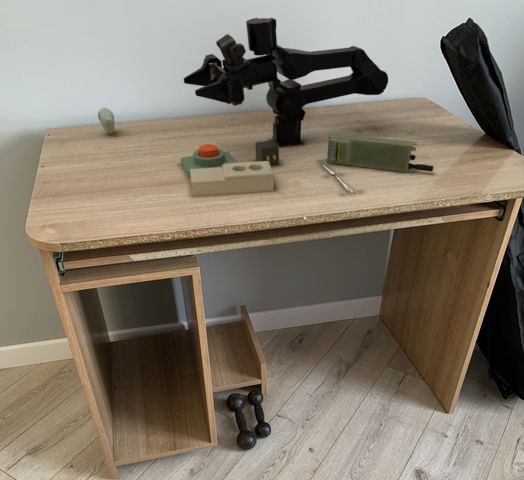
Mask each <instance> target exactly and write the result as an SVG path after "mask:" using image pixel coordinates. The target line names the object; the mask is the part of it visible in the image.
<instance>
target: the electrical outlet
mask: <svg viewBox="0 0 524 480" xmlns="http://www.w3.org/2000/svg"><path fill="white" fill-rule="evenodd" d="M190 176H191V179H190V185H191V195H192V197H199V196H200V197H201V196H212V195H215V196H216V195H229V194H244V193H256V192H259V193H260V192H272V191H273V192H274V190H275V189H274V188H275V178H274V177H275V173H274V171H273V168H272V166H271V165H270V163H269V161H258V162H257V161H244V162H237V163H226V164H223V165H222V167H217V168H201V169H190Z"/></svg>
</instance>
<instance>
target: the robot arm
mask: <svg viewBox="0 0 524 480" xmlns="http://www.w3.org/2000/svg"><path fill="white" fill-rule="evenodd" d="M245 24H246V25H245V26H246V35H247V45H248V51H250V52H253V55H254V56H255V57H252V58H248V59H247V58H245V57H244V55H245V54H246V52H247V50H246V47H245V45H244V44H242V43H239V42H238V43H237V41H236V40H235V38H234V37H233V36H231V35H230V34H229V33H227V34H224V35H223V36H222V37H221V38H218V40H217V41H215V45H216V46H217V48H219V50H220V53H221V55H222V57H223V59H222V60H221V59H220V58H219V57H218V56H216V54H215V55H214V54H213V53H210V54H206V55H205V56H204V58H203V63H202V65H201V67H199V68H198V69H197V70H195V71H193V72H192V73H190V74H188V75H186V76H185V77H183V83H184V84H187V85H192V86H201V87H199V88H197V89H195V90H194V94H195V96H196V97H200V98H205V99H208V100H212V101H216V102H221V103H225V104H227V105H232V106H233V107H236V106H239V105H243V103H244V101H245V90H244V89H247V90H248V91H251V90H254V89H253V87H255V86H258V85H263V84H267V83H268V87H269V88H268V90H267V93H266V96H265V97H266V98H265V99H266V103H267V105H268V106H269V108H271V110H272V113H273V114H274V115H275V116H274V122H273V123H272V139H271V140H273V141H274V142H275V143H276V144H277V145H278V146H279V147H286V146H295V145H301V144H304V140H303V139H302V138H301V135H302V121H304V120H305V119H304V118H305V115H306V111H305V110H304V107H305V106H306V105H309V104H314V103H318V102H323V101H326V100H327V101H328V100H331V99H336V98H342V97H345V96H346V97H347V96H351V95H363V96H379V95H381V94H383V93H384V92H385V90H386V89H387V87H388V84H389V75H388V73H387V72H386V71H384V70H383V69H380V67H379V66H378V65H377V64H376V63H375V62H374V61H373V60H372V59H371V58H370V57H369V55H368V54H367V52H366V51H365V50H364V49H363V48H360V47H358V46H355V45H352V46H349V47H342V48H331V49H323V50H312V51H309V50H302V49H298V48H290V47H282V46H281V45H278V40H277V39H278V38H277V19H276V18H274V17H269V18H267V17H265V18H263V17H261V18H259V17H253V18H250V19H247V20H246V21H245ZM344 68H350V69H351V73H350V74H349V75H345V76H341V77H336V78H330V79H327V80H321V81H318V82H312V83H307V84H301V83H299V82H298V81H296V80H298V79H300V78H304V77H306V76H308V75H309V74H311V73H314V72H316V71H327V70H334V69H335V70H336V69H344ZM278 74H279V75H281V76H282V77H284V78H286V79H285V80H283V81H282V80H281V79H279V77H278Z"/></svg>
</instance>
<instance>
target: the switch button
mask: <svg viewBox="0 0 524 480" xmlns="http://www.w3.org/2000/svg"><path fill="white" fill-rule="evenodd" d="M218 147H219V146H217V145H216V144H212V143H211V144H209V143H207V144H202V145H200V146H199V147H198V150H199V155H200V156H201V157H205V158H210V157H215V156H218V149H219V148H218Z"/></svg>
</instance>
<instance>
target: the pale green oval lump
mask: <svg viewBox="0 0 524 480" xmlns="http://www.w3.org/2000/svg"><path fill="white" fill-rule="evenodd" d="M97 117H98V120H99V123H100V126H101V127H102V128H103V130H104V131H105V132H106V133H108V134H111V135H112V134H113V133H114V131H115V126H116V125H115V123H116V122H115V115H114V112H113V111H112V110H110V109H109V108H107V107H101V108H100V109H99V111H98V114H97Z"/></svg>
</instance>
